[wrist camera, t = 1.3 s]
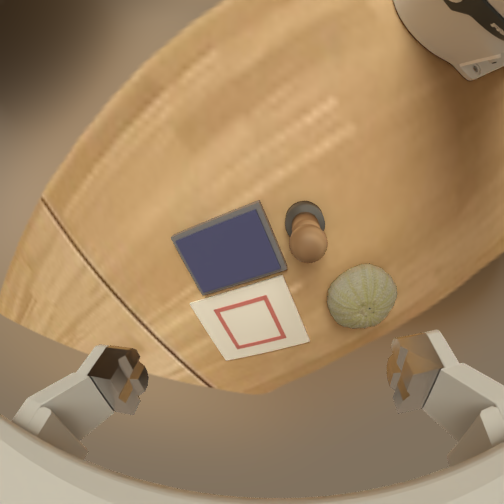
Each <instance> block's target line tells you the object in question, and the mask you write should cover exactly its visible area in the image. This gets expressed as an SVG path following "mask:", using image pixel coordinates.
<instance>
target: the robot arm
mask: <svg viewBox="0 0 504 504" xmlns="http://www.w3.org/2000/svg"><path fill="white" fill-rule="evenodd" d="M393 1H394V4H395V7H396V10H397V12H398V14H399V16H400V18H401V20H402V21H403V23H404V24H405V26H406V27H407V29H408V30H409V31H410V32H411V34H412V35H413V36H414V37H415V38H416V39H417V40H418V41H419V42H420V43H421V44H422V45H423V46H424V47H426V48H427V49H428V50H429V51H431V52H432V53H433V54H435V55H437V56H438V57H440V58H442V59H444V60H445V61H447V62H449V63H450V64H452V65H453V66H454V67H455V68H456V69H457V70H458V71H459V73H460V74H461V75H462V76H463V77H464V78H466V79H467V80H470V81H471V80H474V79H477V78H479V77H481V76H483V75H486V74H488V73H490V72H492V71H494V70H497V69H499V68H501V67H503V66H504V0H393ZM473 67H474V69H475V71H474V69H473ZM391 350H392V352H393V354H392V355H391V356H390V357H389V358H388V363H387V379H388V382H389V386H390V387H391V388H392V389H394V390H395V393H394V396H393V399H394V402H395V406H396V409H397V413H398V414H399V413H403V412H409V411H413V410H418V409H422V408H423V411H424V412H425V413H427V414H428V415H429V416H430V417H431V418H432V419H433V420H434V421H435V422H437V423H438V424H439V425H440V426H441V427H442V428H443V429H444V430H445V431H447V432H448V433H449V434H450V435H451V436H452V437H453V438H454V439H455V440H457V441H458V443H457V444H456V445H455V446H454V448H453V449H452V450H451V451H450V452H449V454H448V455H447V459H448V463H449V467H448V468H445V469H442V470H440V471H437V472H434V473H431V474H428V475H425V476H422V477H418V478H415V479H412V480H408V481H405V482H401V483H397V484H393V485H388V486H384V487H380V488H375V489H370V490H365V491H358V492H352V493H345V494H338V495H329V496H318V497H305V498H250V497H235V496H224V495H216V494H207V493H201V492H194V491H189V490H183V489H178V488H173V487H169V486H164V485H160V484H156V483H152V482H148V481H144V480H140V479H137V478H134V477H130V476H127V475H124V474H121V473H118V472H115V471H112V470H109V469H106V468H104V467H101V466H99V465H96V464H93V463H91V462H88V461H86V460H84V459H85V457H86V455H87V453H88V450H87V448H86V447H85V446H84V445H83V444H82V443H81V442H80V440H82V439H83V438H84V437H85V436H86V435H88V434H89V433H90V432H91V431H92V430H94V429H95V428H96V427H97V426H99V425H100V424H101V423H102V422H103V421H105V420H106V419H107V418H108V417H109V416H111V415H112V414H113V413H114V411H115V412H120V413H125V414H130V415H134V414H135V411H136V409H137V407H138V405H139V403H140V398H139V395H140V394H142V393H143V392H145V390H146V388H147V386H148V373H147V370H146V368H145V366H144V365H143V364H142V363H140V362H139V359H140V356H139V354H138V352H137V350H136V349H133V348H127V347H119V346H111V345H110V346H109V345H102V344H99V345H97V346H95V348H94V349H93V350H92V352H91V353H90V354H89V356H88V357H87V358H86V360H85V361H84V363H83V364H82V365H81V367H80V368H79V369H78V371H77V372H76V373H71V374H70V375H68V376H66V377H64V378H63V379H61V380H59V381H57V382H56V383H54V384H52V385H50V386H49V387H47V388H45V389H43V390H42V391H39V392H38V393H36V394H34V395H33V396H31V397H29V398H27V400H26V401H25V403H24V404H23V405H22V407H21V408H20V410H19V411H18V412H17V414H16V415H15V417H14V418H13V420H12V421H10V420H9V419H7V418H6V417H4V416H3V415H1V414H0V504H504V386H503V385H501V384H500V383H498V382H497V381H495V380H493V379H491V378H489V377H488V376H486V375H484V374H482V373H481V372H479V371H477V370H475V369H474V368H472V367H470V366H468V365H466V364H464V363H460V364H459V362H458V361H457V359H456V357H455V355H454V353H453V352H452V350H451V348H450V347H449V345H448V343H447V342H446V340H445V338H444V337H443V335H442V334H441V332H440V331H439V330H433V331H428V332H424V333H419V334H414V335H408V336H403V337H397V338H394V339H393V341H392V345H391Z"/></svg>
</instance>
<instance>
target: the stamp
mask: <svg viewBox="0 0 504 504" xmlns="http://www.w3.org/2000/svg"><path fill="white" fill-rule="evenodd" d="M285 226H286V231H287V233H288V235H289V236H290V241H289V246H290V250H291V253H292V254H293V256H294V257H295V258H296V259H298V260H299V261H301V262H305V263H312V262H316V261H318V260H319V259H321V258H322V257H323V256H324V254H325V252H326V250H327V245H328V242H327V237H326V235H325V233H324V232H323V231H324V228H325V221H324V217H323V215H322V212H321V210H320V209H319V207H318V206H317V205H315V204H314V203H312V202H309V201H300V202H297V203H295V204H293V205H292V206H291V207H290V208H289V209H288V211H287V213H286V220H285Z"/></svg>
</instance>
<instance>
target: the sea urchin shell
mask: <svg viewBox="0 0 504 504" xmlns="http://www.w3.org/2000/svg"><path fill="white" fill-rule="evenodd" d="M396 287H397V286H396V285H395V282H394V281H393V279H392V277H391V276H390V275H389V274H388V273H386V272H385V271H384V270H383V269H381V268H380V267H377V266H374V265H371V264H370V263H369V264H361V265H358V266H355V267H353V268H350V269H348V270H347V271H346V272H344V273H343V274H341V275H339V277H338V278H337V279H336V280H335V281H334V282H333V283H332V284H331V286H330V288H329V289H328V296H327V297H328V299H327V304H328V307H329V310H330V313H331V315H332V316H333V317H334V319H335V321H336V322H337V323H338V324H340V325H342V326H343V327H349V328H352V329H353V328H354V329H355V328H366V327H371V326H375V325H377V324H379V323H380V322H381V321H382V320H383V319H384V318H385V317H386V316H387V315H388V313H389V312H390V310H391V309H392V307H393V306H394V303H395V300H396V297H397V288H396Z"/></svg>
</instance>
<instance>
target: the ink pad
mask: <svg viewBox="0 0 504 504" xmlns="http://www.w3.org/2000/svg"><path fill="white" fill-rule="evenodd" d="M171 239H172V241H173V243H174V245H175V247H176V249H177V251H178V252H179V254H180V256H181V258H182V260H183V262H184V263H185V265H186V267H187V269H188V271H189V272H190V274H191V276H192V278H193V280H194V281H195V283H196V285H197V287H198V288H199V290H200V292H201V294H202V295H206V294H210V293H213V292H216V291H220V290H223V289H226V288H230V287H233V286H236V285H239V284H242V283H246V282H249V281H252V280H255V279H259V278H262V277H265V276H268V275H271V274H274V273H277V272H281V271H284V270H287V264H286V261H285V259H284V257H283V254H282V252H281V249H280V247H279V244H278V242H277V240H276V237H275V235H274V233H273V230H272V228H271V225H270V223H269V221H268V218H267V216H266V214H265V211H264V209H263V207H262V204H261V202H260V200H258V201H256V202H253V203H250V204H248V205H245V206H243V207H240V208H238V209H235V210H233V211H230V212H227V213H225V214H222V215H220V216H217V217H215V218H213V219H210V220H208V221H205V222H203V223H200V224H198V225H195V226H193V227H191V228H188V229H186V230H184V231H181V232H179V233H176V234H174V235H173V236H172V237H171Z"/></svg>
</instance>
